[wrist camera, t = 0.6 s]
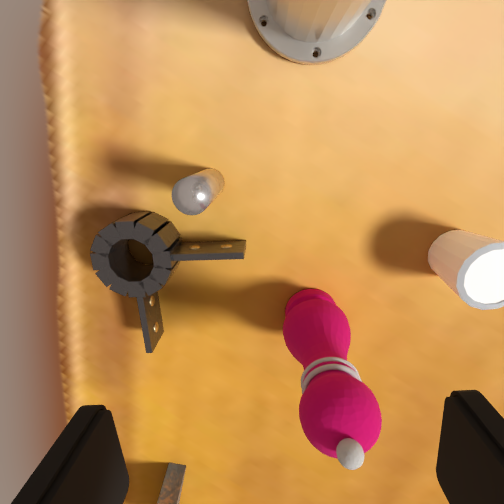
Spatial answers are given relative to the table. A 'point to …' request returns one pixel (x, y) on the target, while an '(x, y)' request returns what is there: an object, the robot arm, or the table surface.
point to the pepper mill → (330, 380)
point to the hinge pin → (197, 191)
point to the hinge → (150, 276)
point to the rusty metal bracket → (172, 484)
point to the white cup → (470, 267)
